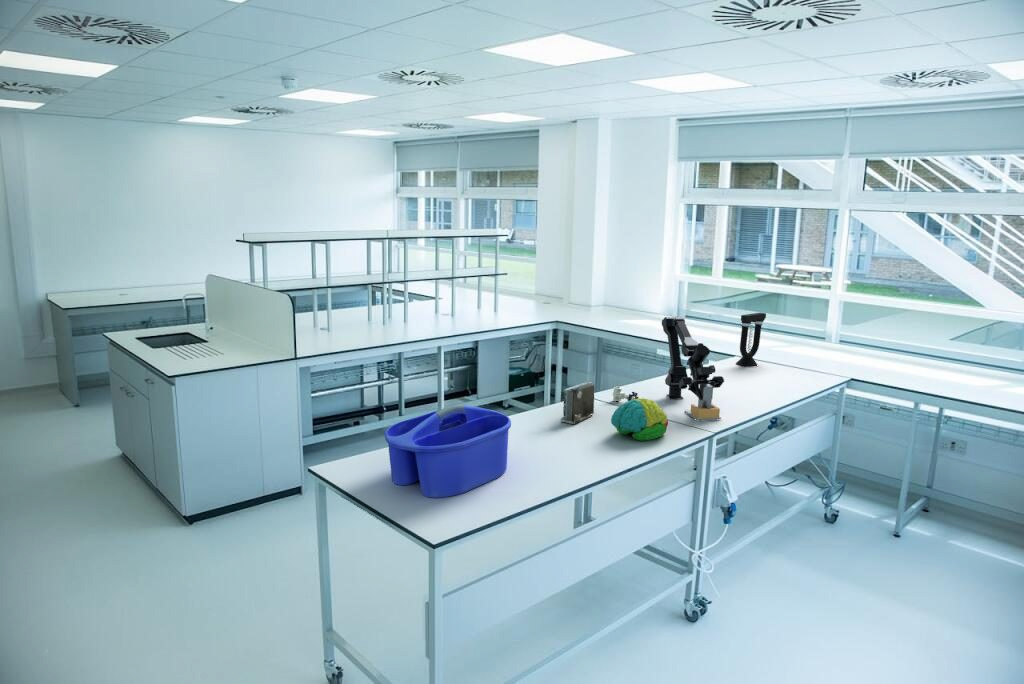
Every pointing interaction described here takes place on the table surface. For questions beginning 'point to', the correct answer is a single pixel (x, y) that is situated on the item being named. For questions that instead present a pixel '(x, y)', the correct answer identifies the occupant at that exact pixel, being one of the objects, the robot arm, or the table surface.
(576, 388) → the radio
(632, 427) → the brain model
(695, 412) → the keeper bracket
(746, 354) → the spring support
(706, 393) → the rectangular block
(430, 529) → the table surface
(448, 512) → the table surface
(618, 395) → the valve
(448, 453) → the caddy
